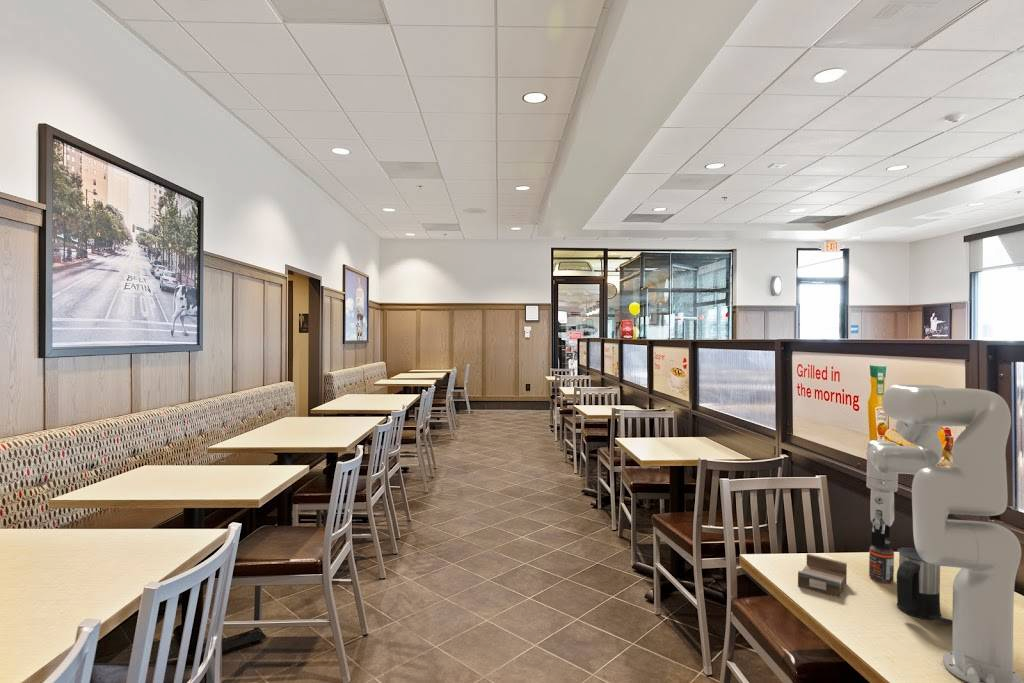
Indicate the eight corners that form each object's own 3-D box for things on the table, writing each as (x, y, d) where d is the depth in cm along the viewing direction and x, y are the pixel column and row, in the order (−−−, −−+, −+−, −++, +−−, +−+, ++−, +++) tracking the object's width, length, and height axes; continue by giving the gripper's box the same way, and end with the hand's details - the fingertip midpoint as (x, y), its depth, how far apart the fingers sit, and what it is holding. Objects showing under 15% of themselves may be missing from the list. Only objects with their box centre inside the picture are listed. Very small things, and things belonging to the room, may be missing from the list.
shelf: (838, 598, 144) (838, 576, 144) (797, 586, 151) (797, 565, 151) (846, 584, 153) (846, 563, 153) (807, 573, 159) (807, 553, 159)
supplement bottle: (864, 577, 157) (864, 538, 157) (876, 573, 160) (877, 535, 160) (885, 585, 152) (886, 545, 152) (898, 581, 154) (898, 542, 154)
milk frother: (898, 598, 144) (899, 544, 144) (976, 619, 134) (976, 560, 134) (892, 619, 134) (893, 560, 134) (976, 643, 123) (976, 578, 123)
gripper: (893, 492, 147) (892, 554, 147) (901, 479, 160) (899, 536, 160) (861, 487, 152) (860, 546, 152) (871, 474, 165) (870, 529, 165)
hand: (880, 541), depth 156 cm, fingers open, 9 cm apart
